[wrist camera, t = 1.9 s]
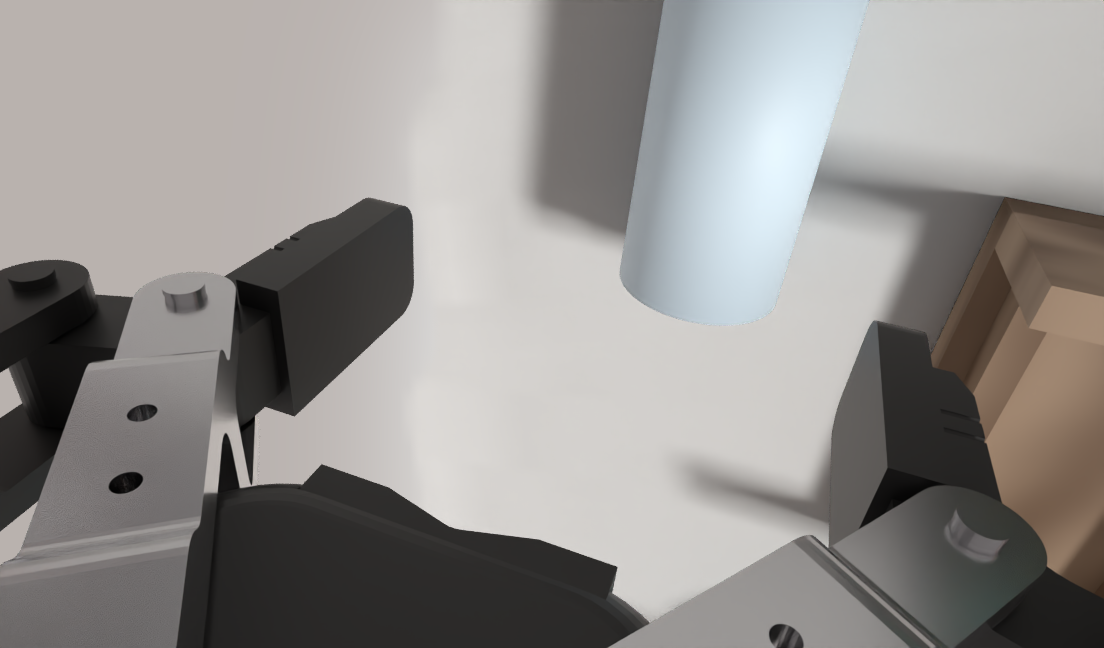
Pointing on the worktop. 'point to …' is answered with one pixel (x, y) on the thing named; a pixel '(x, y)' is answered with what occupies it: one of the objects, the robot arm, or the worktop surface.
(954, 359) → the roll cradle
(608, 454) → the worktop surface
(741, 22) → the paper roll
